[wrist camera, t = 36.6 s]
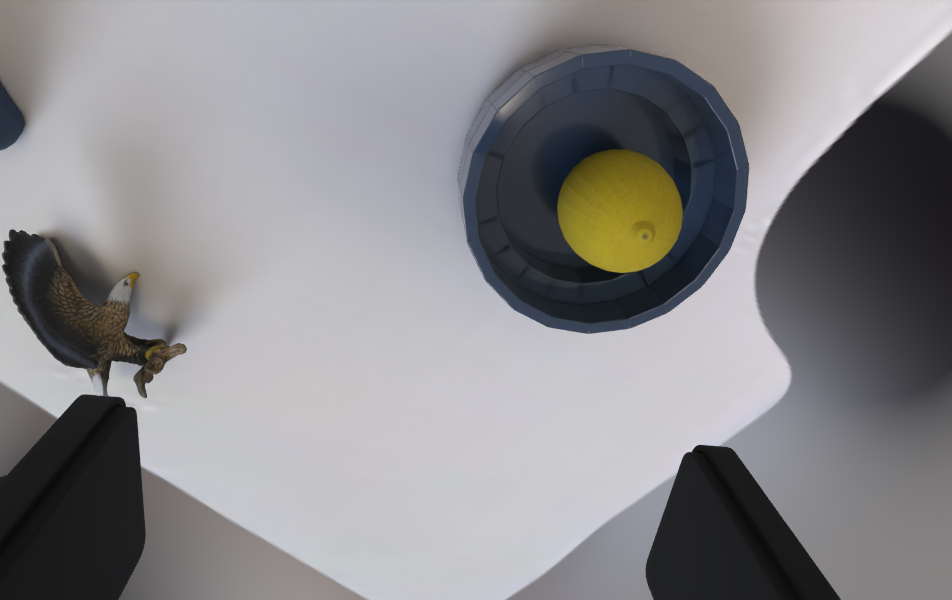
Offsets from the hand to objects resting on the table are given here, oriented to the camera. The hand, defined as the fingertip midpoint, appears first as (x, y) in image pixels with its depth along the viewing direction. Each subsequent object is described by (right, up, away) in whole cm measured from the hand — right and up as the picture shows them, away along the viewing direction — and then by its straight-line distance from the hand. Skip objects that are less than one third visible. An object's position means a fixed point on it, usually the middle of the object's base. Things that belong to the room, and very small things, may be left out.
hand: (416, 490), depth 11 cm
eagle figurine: (-19, +4, +24) cm, 31 cm away
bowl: (+7, +10, +23) cm, 26 cm away
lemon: (+7, +9, +23) cm, 26 cm away
